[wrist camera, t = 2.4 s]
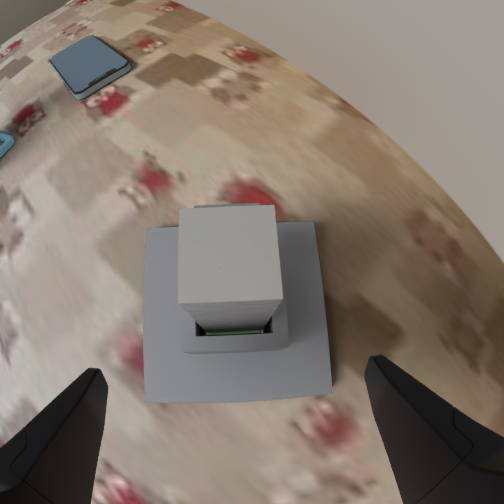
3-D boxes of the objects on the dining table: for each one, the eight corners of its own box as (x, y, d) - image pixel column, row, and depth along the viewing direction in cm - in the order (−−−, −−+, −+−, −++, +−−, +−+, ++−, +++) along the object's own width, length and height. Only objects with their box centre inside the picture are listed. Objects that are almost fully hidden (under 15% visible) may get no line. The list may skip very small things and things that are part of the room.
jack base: (327, 391, 20) (357, 399, 14) (150, 400, 19) (120, 410, 13) (310, 228, 24) (329, 188, 18) (150, 235, 23) (127, 196, 18)
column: (262, 333, 19) (286, 301, 10) (207, 336, 19) (174, 306, 9) (258, 275, 21) (275, 192, 11) (205, 278, 20) (177, 196, 11)
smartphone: (91, 32, 33) (132, 61, 29) (94, 40, 34) (135, 72, 30) (47, 59, 31) (74, 95, 27) (51, 67, 32) (79, 106, 28)
